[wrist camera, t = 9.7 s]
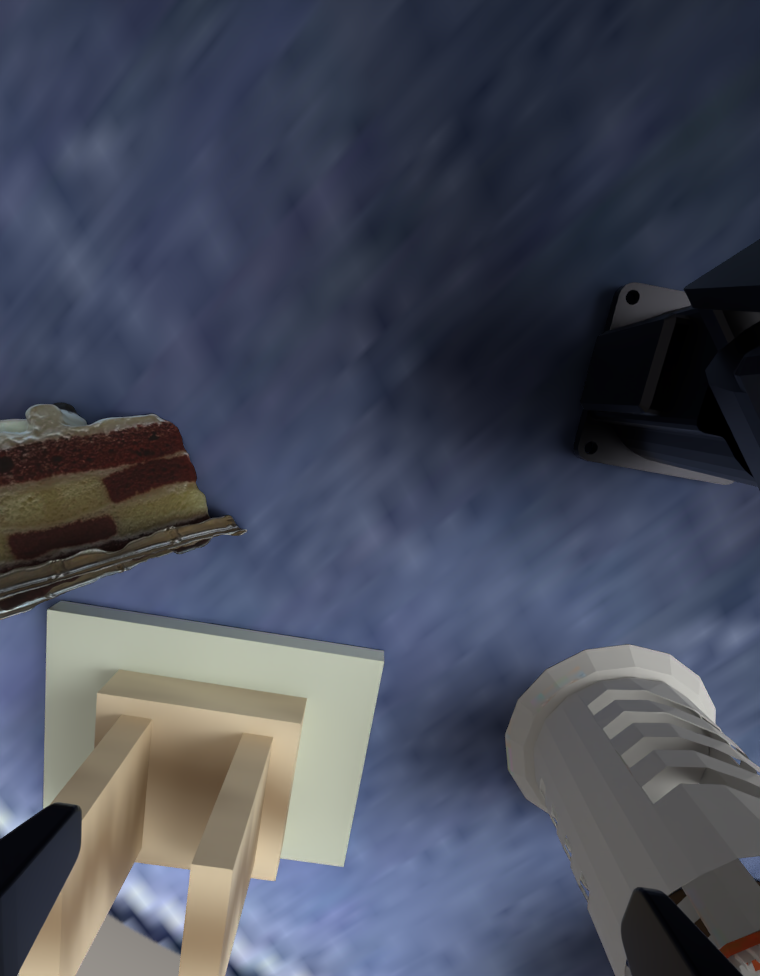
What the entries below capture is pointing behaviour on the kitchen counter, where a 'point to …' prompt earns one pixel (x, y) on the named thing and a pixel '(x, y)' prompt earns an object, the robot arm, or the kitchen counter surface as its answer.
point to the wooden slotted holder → (176, 810)
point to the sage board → (230, 662)
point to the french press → (643, 792)
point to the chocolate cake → (92, 501)
